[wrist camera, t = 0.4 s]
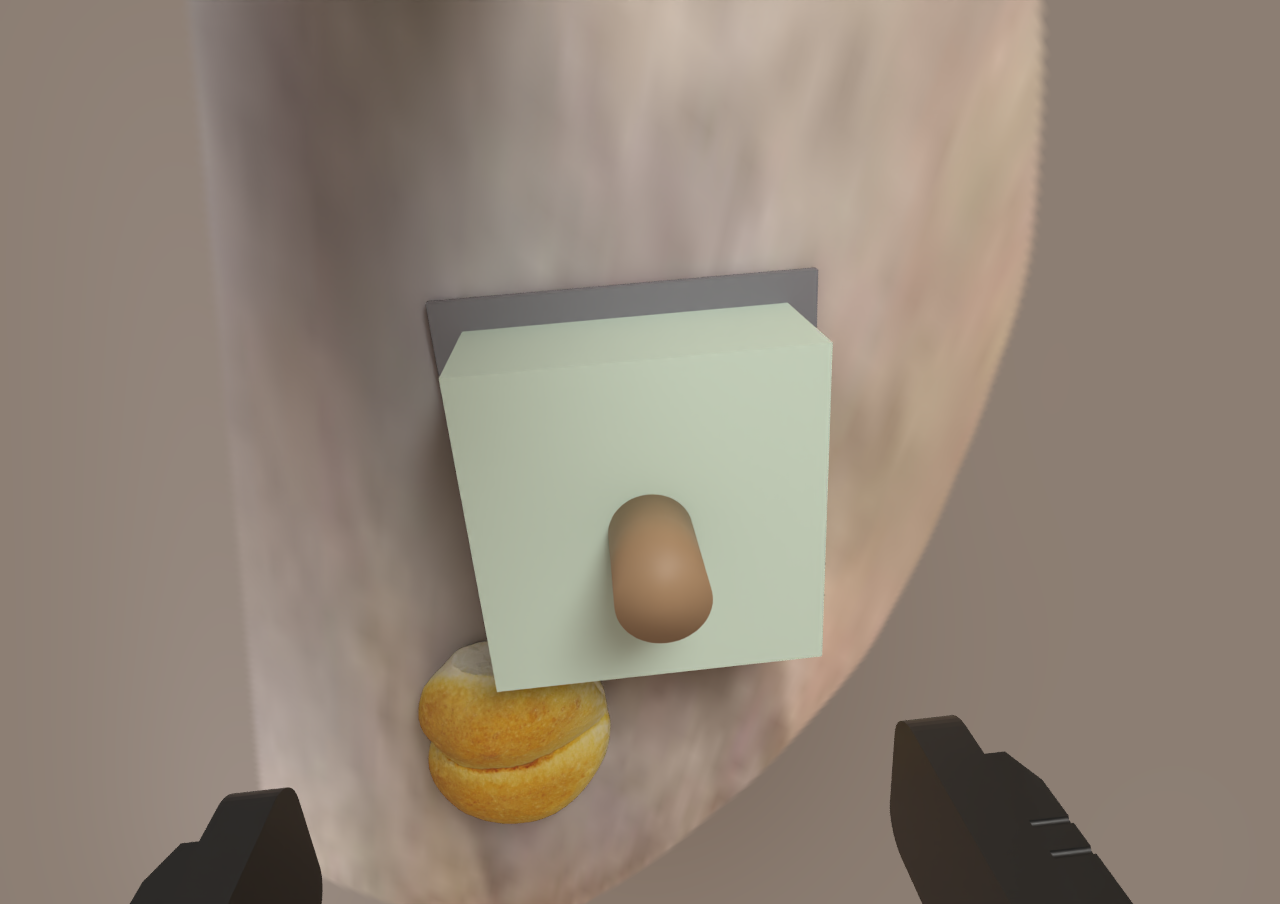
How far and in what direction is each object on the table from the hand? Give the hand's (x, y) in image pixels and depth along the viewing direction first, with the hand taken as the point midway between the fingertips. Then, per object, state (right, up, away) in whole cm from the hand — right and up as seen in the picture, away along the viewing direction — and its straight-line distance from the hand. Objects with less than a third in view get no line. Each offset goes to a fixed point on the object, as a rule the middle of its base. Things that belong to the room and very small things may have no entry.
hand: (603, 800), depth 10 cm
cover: (0, +4, +20) cm, 20 cm away
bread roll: (-5, -7, +25) cm, 27 cm away
